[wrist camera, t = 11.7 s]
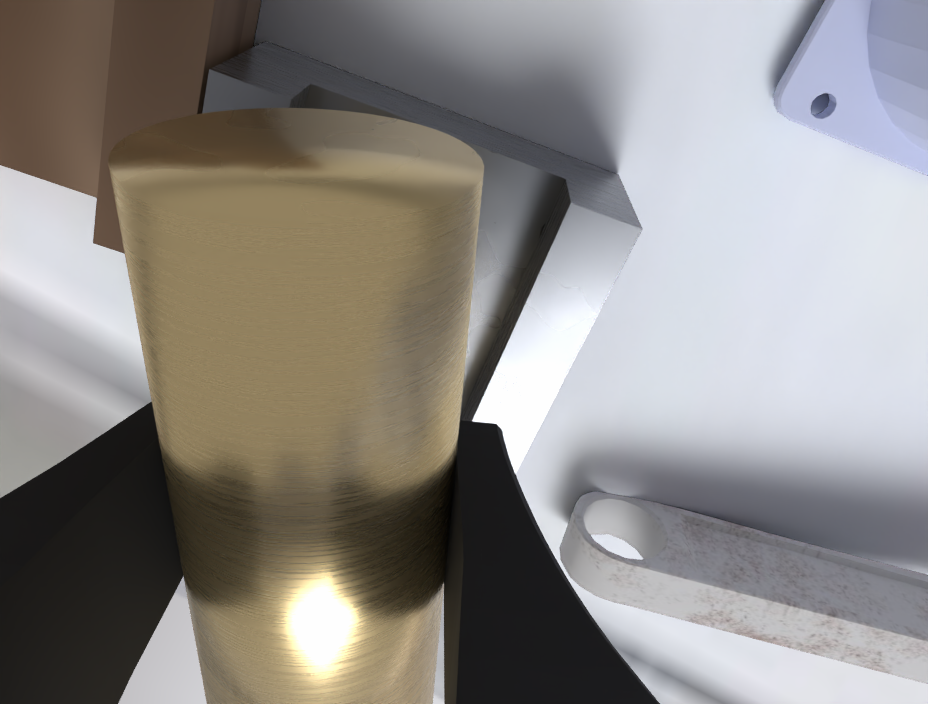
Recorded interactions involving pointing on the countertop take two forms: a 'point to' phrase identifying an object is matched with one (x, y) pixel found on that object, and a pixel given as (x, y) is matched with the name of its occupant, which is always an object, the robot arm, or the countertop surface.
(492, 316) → the v block
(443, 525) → the brass axle
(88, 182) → the brown wooden cradle
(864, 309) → the countertop surface
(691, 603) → the wrench
